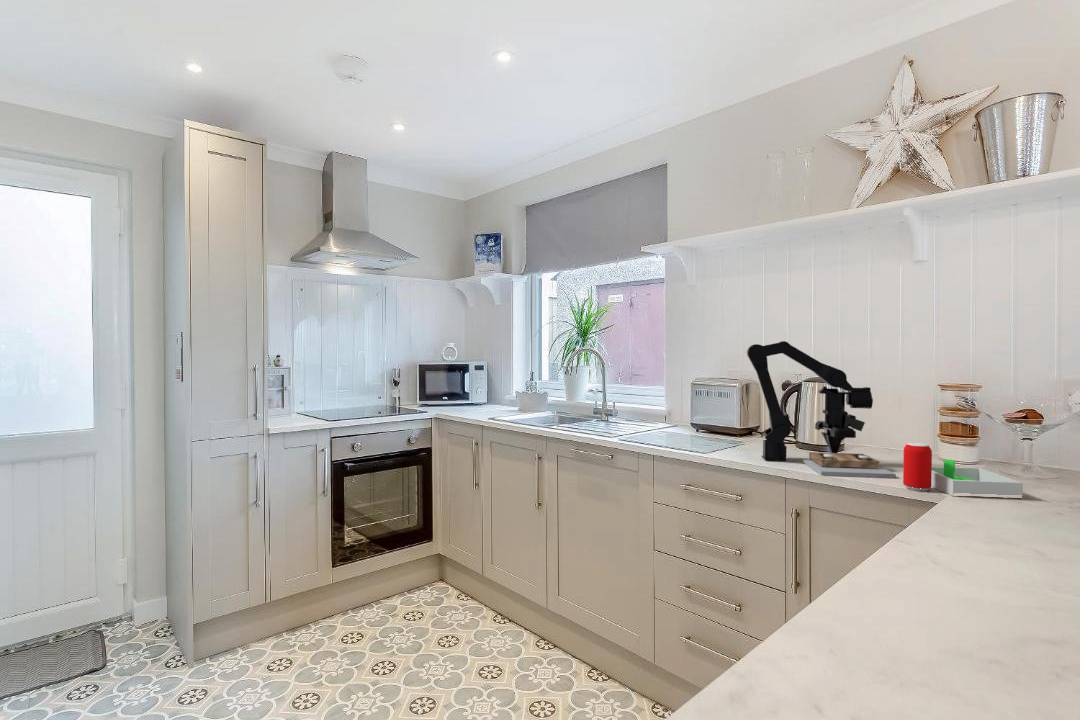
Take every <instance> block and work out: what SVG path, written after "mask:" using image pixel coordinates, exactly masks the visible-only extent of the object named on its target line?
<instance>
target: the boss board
mask: <svg viewBox="0 0 1080 720" xmlns="http://www.w3.org/2000/svg"><path fill="white" fill-rule="evenodd" d="M824 457H826V459H832V458H834V457H835V455H832V454H824ZM870 457H871V456H870V455H867V454H864V455H859V458H862V460H866V461H867V459H870ZM804 463H805V464H806V465H805V464H804ZM802 464H804V465H805V466H807V465H808V466H809V467H808V466H807V467H808V468H809V469H811V468H812V469H811V470H812V471H814V472H815V471H816V472H815V473H817V474H818V475H820V476H826V477H852V478H877V479H878V478H881V479H882V478H883V479H884V478H885V479H896V478H897V473H894V472H892V471H891V470H888V469H886V468H884V467H882V466H880V465H879V468H858V467H827V466H820V465H819V464H817V463H816V462H814V461H813V460H811V459H809V458H807V459H806V458H805V459H804V458H803V459H802Z"/></svg>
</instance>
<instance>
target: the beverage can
mask: <svg viewBox="0 0 1080 720" xmlns="http://www.w3.org/2000/svg"><path fill="white" fill-rule="evenodd" d="M902 463H903V465H902V466H903V469H902V470H903V473H902V474H903V475H902V483H903V486H904V487H906V488H908V489H909V490H912V491H919V492H925V491H928V490H930V489H932V486H931V480H932V467H933V465H932V463H933V450H932V449H931V447H930V445H929V444H927V443H923V442H908V443H906V444H905V446H904V447H903V462H902ZM912 487H913V488H912ZM920 488H921V489H920Z"/></svg>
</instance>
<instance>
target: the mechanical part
mask: <svg viewBox="0 0 1080 720" xmlns="http://www.w3.org/2000/svg"><path fill="white" fill-rule="evenodd" d="M943 467H944V476H947V477H949V478H951V479H954V480H972V479H969V478H963V477H955V467H956V460H954V459H945V458H944V462H943ZM972 481H974V480H972Z"/></svg>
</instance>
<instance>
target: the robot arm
mask: <svg viewBox="0 0 1080 720" xmlns="http://www.w3.org/2000/svg"><path fill="white" fill-rule="evenodd" d="M779 354H783V355H785V356H786V357H787V358H790V359H791V360H793V361H794V362H796V363H798V364H799V365H801V366H803V367H804V368H806V369H808V370H810V371H811V372H812V373H814V374H815V375H816V376H817V377H818V378H819V379H820V380H821V381H823V382H824V383H825V384H827V385H828V386H830V387H833V388H827V386H825V385H823V386H822V388H821V389H819V390H818V391H817V392H818V394H823V395H824V409H822V413H823V414H824V420H817V421H816V422H815V424H814V428H815V430H817V431H820V430H823V432H821V435H822V437H823V439H824V441H825V444H826V445H827V448H828V450H829V453H839V449H840V446H841V444H842V442H843V440H845V439H847V438H848V439H855V438H856V436H857V435H856V434H857V431H859V432H862V431H863V428H864V425H865V424H866V422H865V421H863V420H860V419H857V417H856V415H853V414H849V413H848V411H846V405H847V406H849V408H850V409H864V410H865V409H869V410H870V409H872V408H873V403H874V399H873V395H872V391H871V387H868V386H865V387H864V386H863V387H853V386H852V384H850V382H849V381H848V380H847V379H848V378H847V377H848V376H847V374H846V373H845V372H844V371H843V370H841V369H839V368H837V367H834V366H830V365H827V364H826V363H822V362H821V361H819V360H817V359H815V358H813V357H812V356H811V355H809V354H807V353H806V352H803V351H802V350H801V349H800V350H799V348H796V347H795V346H793V345H792V344H790V343H789V342H788V341H784V340H781V341H779V342H775V343H771V344H766V345H762V344H759V343H758V344H757V343H756V344H751V345H750V346H748V349H747V350H746V357H748V359H749V361H750V364H751V365H752V367H753V368H754V370H755V372H756V376H757V378H758V382H759V384H760V387H761V391H762V393H763V397H764V400H765V403H766V404H765V405H766V406H767V410H768V417H769V428H768V429H766V430H765V431H764V432H763V436H764V438H765V439H763V440H762V455H761V458H762V459H763V460H765V461H767V462H768V461H771V462H772V461H773V462H787V449H788V448H787V446H786V441H785V438H787V437H789V436H790V434H791V432H792V429H791V427H793V425H792V424H791V421H790V416H789V413H787V412H783V411H782V408H781V406H780V403H779V399H778V396H777V393H776V390H775V387H774V384H773V382H772V381H773V380H772V377H771V375H770V371H769V367H768V365H769V364H768V357H769V356H775V355H779ZM838 388H839V389H841V390H843V391H839V390H838ZM856 430H857V431H856Z"/></svg>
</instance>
